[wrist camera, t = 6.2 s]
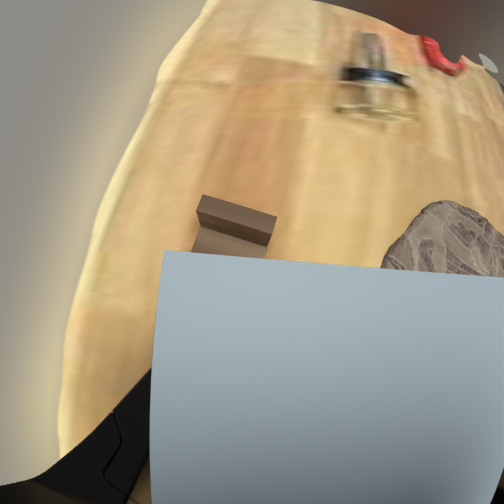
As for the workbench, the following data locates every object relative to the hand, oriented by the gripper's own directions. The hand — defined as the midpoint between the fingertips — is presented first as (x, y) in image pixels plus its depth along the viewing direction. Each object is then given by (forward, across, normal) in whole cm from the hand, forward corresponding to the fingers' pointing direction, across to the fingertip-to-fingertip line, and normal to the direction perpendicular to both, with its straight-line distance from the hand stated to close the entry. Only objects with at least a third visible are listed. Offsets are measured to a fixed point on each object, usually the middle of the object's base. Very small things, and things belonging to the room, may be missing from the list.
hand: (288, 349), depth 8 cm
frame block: (+4, 0, +6) cm, 7 cm away
